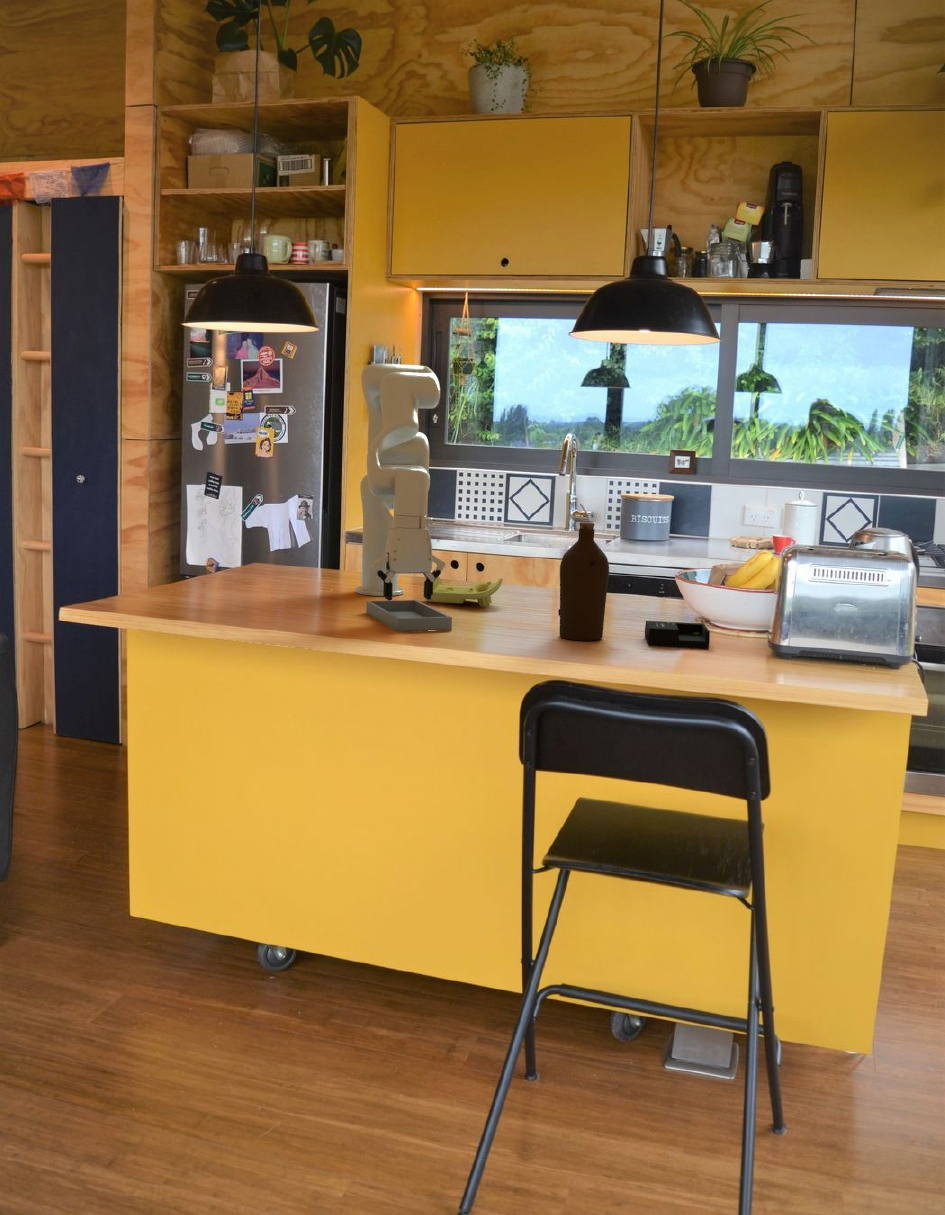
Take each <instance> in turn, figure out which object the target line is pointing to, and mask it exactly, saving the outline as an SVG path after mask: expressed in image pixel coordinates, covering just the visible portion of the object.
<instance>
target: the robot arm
mask: <svg viewBox="0 0 945 1215" xmlns="http://www.w3.org/2000/svg"><path fill="white" fill-rule="evenodd" d="M361 389H362V393H363V396H364V400H365V402H366V406H367V410H368V421H367V422H368V425H367V426H368V427H367V454H366V475H364V476H363V478H361V481H360V484H359V485H360V489H359V490H360V491H359V492H360V499H361V506H362V553H361V554H362V556H361V558H362V560H361V585H360V586H356V587H355V593H356V594H359V595H364V596H373V597H384V599H385V600H386V601H388V600H392V599H393V597H394V596H400V595H403V594H405V592H404V590H405V589H404V588H402V587H399V575H401V574H403V575H404V574H406V575H407V574H409V575H411V574H415V575H416V574H422V575H423V576H424V578H425V579H424V582H423V588H424V591H423V598H424V599H425V600H426V599H428V600H431V595H433V582H434V581H435V579H436V578H437V577H438V576H439V577H440V575H441V574H442V572H443V571H444V568H445V567H446V563H445V561H443V560H441V559H440V558H438V557H436V556H435V555H434V554H433V548H432V538H431V531H430V529H429V528H428V526H429V525H432V524H433V523H434V519H433V517H429V515H428V505H429V504H428V499H429V491H430V486H431V476H430V471H429V470H430V444H429V440H428V437H427V436H426V434H425V433H423V432H421V431H419V428H420V425H419V417H418V416H419V415H418V409H430V410H431V409H435V408H436V407H437V406H439V403H440V400H441V399H440V398H441V386H440V380H439V378H438V377H437V375H436V373H435V372H434V371H433V370H432V369H431V368H430V367H428V366H426V365H417V364H416V365H415V364H399V363H372V364H368V365H365V367H363V370H362V371H361ZM392 510H393V515H392V513H391V512H390V511H392ZM433 563H434V564H436V567H435V569H434V570H433V571H432V569H433V568H432V567H433ZM431 571H432V572H431Z"/></svg>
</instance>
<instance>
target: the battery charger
mask: <svg viewBox="0 0 945 1215" xmlns="http://www.w3.org/2000/svg"><path fill="white" fill-rule="evenodd" d="M710 633H711V631H710V630H709V628H708V627H707V626H706V624H705V623H702V622H699V623H697V622H680V621H662V620H660V621H659V620H658V621H657V620H645V625H644V639H645V641H646V644H647V646H648V647H657V648H658V647H660V648H661V647H663V648H679V649H695V650H698V649H699V650H709V648H710V642H711V641H710V639H711V635H710Z"/></svg>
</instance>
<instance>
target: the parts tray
mask: <svg viewBox="0 0 945 1215" xmlns="http://www.w3.org/2000/svg"><path fill="white" fill-rule="evenodd" d="M365 613H366V614H367V615H368V616H371V617H372V618H373V619H375V620H377V621H379V622H380V623H382V624H383V625H386V627H389V628H390V629H392V630H393V631H395V632H396V631H397V633H415V632H414V631H425V632H429V631H428V630H451V631H452V629H453V628H452V627H453V625H452V623H453V617H452V616H451V615H449V614H446V613H444V612H442V611H440V610H438V609H436V608H434V607H432V606H430V605H428V604H426V603H424V602H422V601H419V600H417V599H403V600H401V599H398V600H395V599H394V600H366V609H365ZM411 631H413V632H411Z"/></svg>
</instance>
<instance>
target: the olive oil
mask: <svg viewBox="0 0 945 1215" xmlns="http://www.w3.org/2000/svg"><path fill="white" fill-rule="evenodd" d="M560 561H561V562H560V564H559V608H558V611H557V612H558V617H559V636H560V637H561V638H563V639H566V640H572V641H582V642H583V641H584V642H589V641H598V640H601V639H603V634H604V624H605V614H606V613H605V612H606V605H607V603H606V602H607V593H608V584H609V575H610V565H609V564H610V563H609V560H608V557H607V555H606V554H605V553H604V551H603V550H602V549H601V548H600V546H599V545H598V544H597V542H596V541H595V523H594V522H590V521H581V522H579V528H578V538H577V541H576V542H575V543H574V544H573V545H572V546H571V547H570V548H568V550H566V552H565V553H564V554H563V555H562V558H561V560H560Z"/></svg>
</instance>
